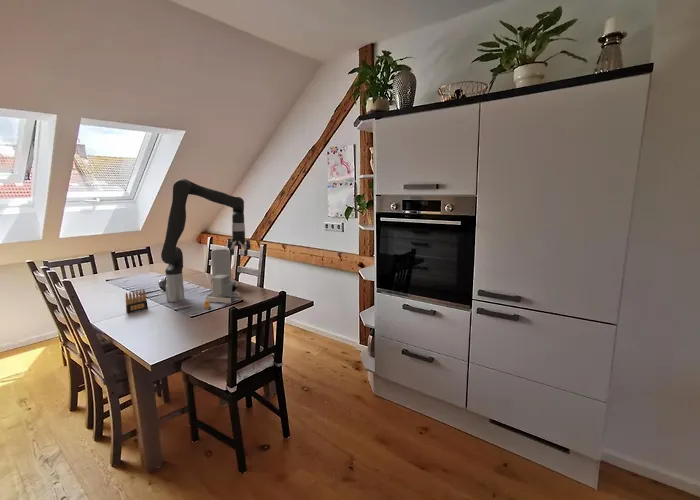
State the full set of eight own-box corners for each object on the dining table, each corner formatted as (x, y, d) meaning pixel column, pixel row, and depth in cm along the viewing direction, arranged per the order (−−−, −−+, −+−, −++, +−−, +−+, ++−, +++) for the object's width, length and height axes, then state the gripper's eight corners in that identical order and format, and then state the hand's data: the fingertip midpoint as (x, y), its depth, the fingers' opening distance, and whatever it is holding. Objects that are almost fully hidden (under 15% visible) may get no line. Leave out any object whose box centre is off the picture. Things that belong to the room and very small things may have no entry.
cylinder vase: (228, 288, 247) (226, 253, 242) (210, 288, 247) (207, 252, 242) (234, 283, 259) (232, 249, 254) (217, 283, 259) (214, 249, 254)
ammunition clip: (127, 313, 200) (125, 293, 197) (126, 312, 201) (123, 292, 199) (148, 308, 208) (145, 288, 205) (146, 308, 209) (144, 288, 207)
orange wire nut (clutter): (203, 308, 209) (202, 301, 208) (206, 306, 212) (205, 300, 211) (208, 308, 209) (207, 302, 208) (211, 306, 212) (210, 300, 211)
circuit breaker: (234, 302, 219) (232, 278, 216) (212, 301, 221) (210, 277, 218) (239, 298, 227) (238, 275, 224) (218, 297, 229) (216, 274, 226)
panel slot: (206, 301, 220) (205, 295, 219) (216, 295, 232) (215, 290, 231) (230, 303, 217) (230, 297, 217) (239, 297, 229) (239, 291, 228)
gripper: (224, 229, 218) (225, 255, 221) (246, 231, 215) (247, 257, 219) (230, 228, 225) (231, 253, 228) (252, 229, 223) (252, 255, 226)
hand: (239, 255), depth 224 cm, fingers open, 8 cm apart
